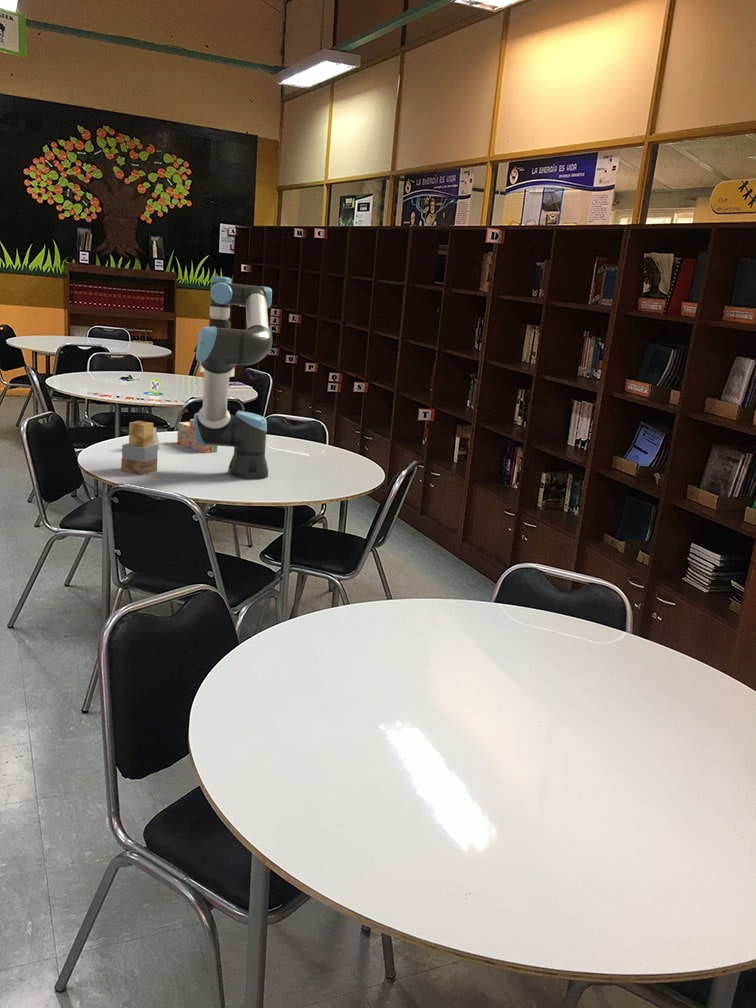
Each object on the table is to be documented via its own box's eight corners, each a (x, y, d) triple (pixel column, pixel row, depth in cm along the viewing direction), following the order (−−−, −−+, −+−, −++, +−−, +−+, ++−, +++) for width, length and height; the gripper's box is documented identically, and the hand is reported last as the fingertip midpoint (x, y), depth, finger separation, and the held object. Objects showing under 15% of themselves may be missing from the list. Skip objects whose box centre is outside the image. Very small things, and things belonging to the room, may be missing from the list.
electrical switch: (143, 452, 333) (142, 429, 331) (134, 451, 335) (133, 428, 333) (160, 450, 341) (159, 427, 339) (150, 449, 343) (149, 426, 341)
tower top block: (157, 458, 304) (157, 444, 303) (144, 462, 296) (144, 448, 295) (135, 454, 306) (135, 441, 305) (122, 458, 298) (122, 444, 297)
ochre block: (152, 444, 302) (153, 423, 300) (143, 447, 297) (144, 425, 295) (138, 442, 304) (139, 420, 302) (128, 444, 298) (129, 422, 296)
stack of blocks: (176, 443, 357) (177, 415, 354) (189, 442, 361) (190, 414, 358) (204, 453, 343) (206, 424, 340) (217, 452, 347) (219, 423, 344)
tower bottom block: (157, 471, 305) (157, 458, 304) (142, 475, 297) (142, 462, 296) (136, 467, 308) (136, 454, 307) (121, 471, 300) (121, 458, 298)
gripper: (252, 322, 314) (249, 378, 319) (198, 315, 323) (195, 369, 328) (241, 321, 307) (238, 379, 312) (186, 314, 316) (184, 370, 322)
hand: (216, 374), depth 320 cm, fingers open, 13 cm apart
